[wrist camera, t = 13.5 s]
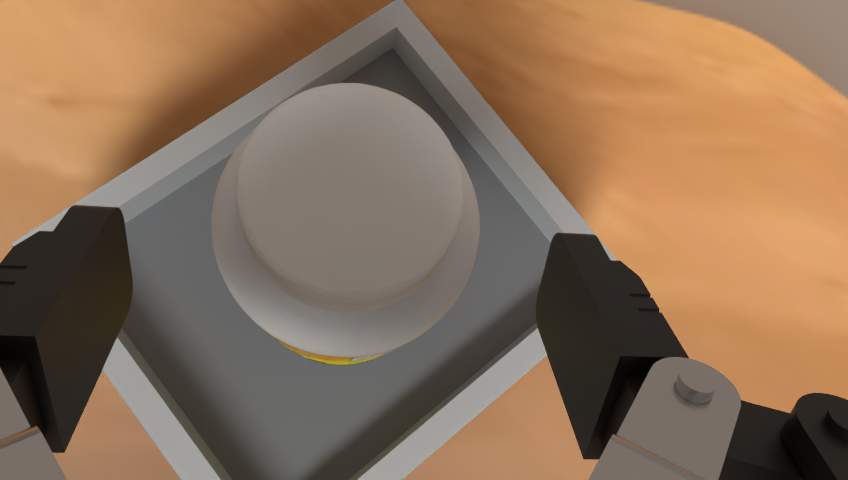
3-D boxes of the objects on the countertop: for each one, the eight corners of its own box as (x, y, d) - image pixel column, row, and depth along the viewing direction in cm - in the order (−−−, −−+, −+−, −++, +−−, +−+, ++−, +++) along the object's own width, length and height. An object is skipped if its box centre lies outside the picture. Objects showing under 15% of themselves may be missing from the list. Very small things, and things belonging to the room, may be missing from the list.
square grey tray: (281, 546, 24) (265, 596, 18) (85, 277, 25) (11, 243, 19) (569, 304, 27) (633, 281, 21) (386, 76, 28) (400, -4, 22)
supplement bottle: (224, 234, 21) (132, 99, 11) (384, 169, 22) (428, -5, 12) (295, 398, 20) (262, 409, 10) (457, 322, 22) (565, 267, 12)
